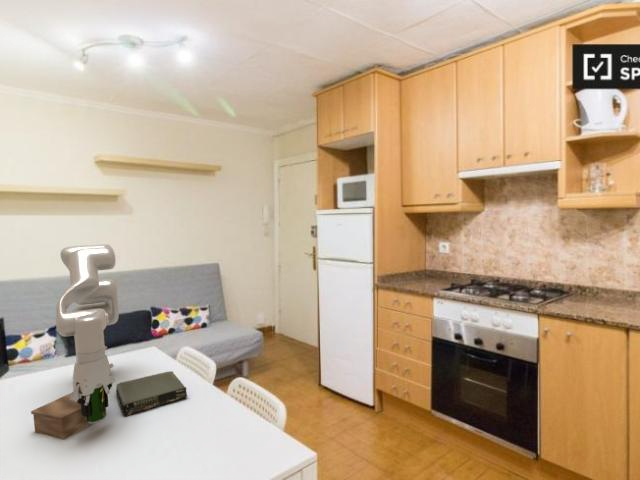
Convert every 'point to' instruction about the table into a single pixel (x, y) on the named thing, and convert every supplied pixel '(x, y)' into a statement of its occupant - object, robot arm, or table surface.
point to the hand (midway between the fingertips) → (95, 410)
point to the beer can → (97, 405)
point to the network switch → (149, 392)
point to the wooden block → (59, 418)
